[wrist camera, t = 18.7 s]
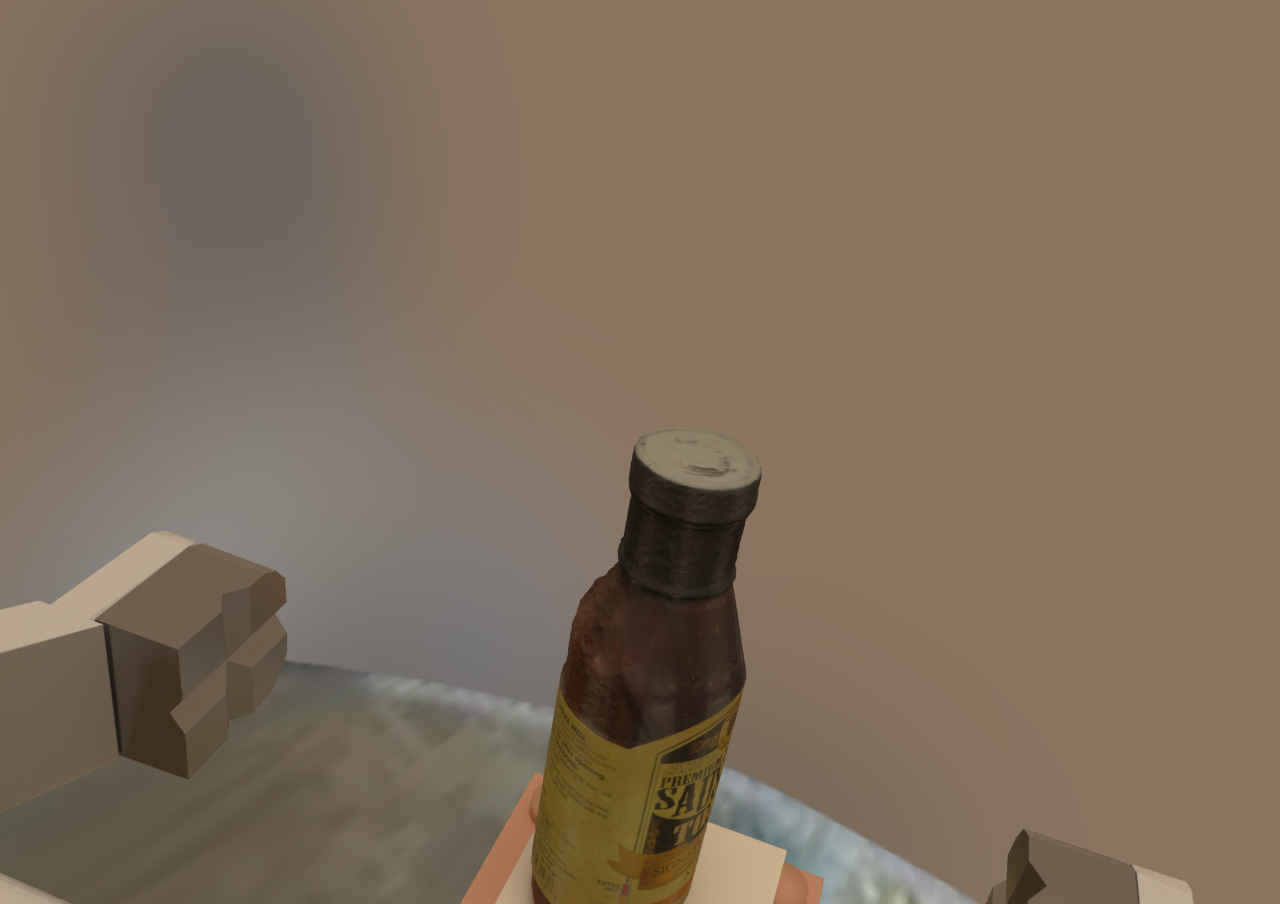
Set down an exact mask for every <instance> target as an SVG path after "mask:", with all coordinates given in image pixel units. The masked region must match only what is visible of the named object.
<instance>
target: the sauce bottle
mask: <svg viewBox="0 0 1280 904" xmlns="http://www.w3.org/2000/svg"><path fill="white" fill-rule="evenodd" d="M760 480H761V466H760V463H759V461H758V459H757V457H756V456H755V455H754V454H753V453H752V452H751V451H750V450H748V449H747V448H746V447H745V446H744V445H742V444H741V443H739V442H738V441H737V440H736V439H733V438H731V437H729V436H727V435H724V434H722V433H718V432H715V431H711V430H707V429H703V428H695V427H664V428H658V429H655V430H653V431H650V432H647V433H645V434H644V435H643V436H642V437H641V438H640V439H639V441H638V442H637V443H636V445H635V446H634V451H633V456H632V461H631V468H630V474H629V488H630V492H631V499H630V504H629V509H628V515H627V521H626V526H625V532H624V537H623V538H622V539H621V543H620V545H619V548H618V560H619V562H617V563H616V564H615V565H614V567H613V568H611V569H610V570H609V571H608V572H607V574H606V575H605V576H603V577H599V578H598V579H596V580H595V582H594V584H593V585H592V586H591V588H590V589H589V590H588V592H587V593H586V594H585V595H584V597H583V598H582V599H581V600H580V604H579V607H578V609H577V614H576V616H575V618H574V621H573V623H572V630H571V634H570V641H569V647H568V657H567V661H566V662H565V664H564V667H563V669H562V672H561V676H560V682H559V688H558V694H557V699H556V705H555V711H554V717H553V724H552V730H551V736H550V742H549V748H548V754H547V760H546V766H545V772H544V777H543V784H542V790H541V796H540V802H539V808H538V814H537V820H536V826H535V833H534V840H533V846H532V856H531V865H532V880H531V887H532V893H533V899H534V904H684V902H685V900H686V898H687V896H688V894H689V891H690V888H691V884H692V880H693V877H694V873H695V869H696V866H697V862H698V858H699V854H700V851H701V847H702V843H703V839H704V835H705V832H706V828H707V824H708V820H709V816H710V813H711V809H712V806H713V802H714V799H715V795H716V791H717V787H718V783H719V780H720V777H721V773H722V770H723V766H724V762H725V758H726V754H727V750H728V745H729V741H730V738H731V734H732V730H733V726H734V723H735V719H736V715H737V712H738V708H739V705H740V701H741V697H742V693H743V688H744V685H745V681H746V667H745V661H744V654H743V648H742V641H741V634H740V627H739V621H738V614H737V608H736V601H735V595H734V589H733V581H734V580H735V578H736V567H735V562H736V560H737V553H738V550H739V544H740V541H741V537H742V534H743V530H744V526H745V521H746V518H747V517H748V516H749V514H750V513H751V512H752V511H753V510H754V508H755V506H756V502H757V497H758V489H759V485H760Z"/></svg>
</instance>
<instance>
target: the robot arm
mask: <svg viewBox="0 0 1280 904" xmlns="http://www.w3.org/2000/svg"><path fill="white" fill-rule="evenodd" d="M285 603H286V587H285V578H284V577H283V576H281V575H280V574H279V573H278V572H277V571H275V570H272V569H269V568H267V567H263V566H261V565H259V564H256V563H253V562H251V561H248V560H245V559H243V558H240V557H237V556H235V555H232V554H229V553H226V552H224V551H221V550H218V549H216V548H213V547H211V546H208V545H205V544H199V543H196V542H194V541H192V540H189V539H186V538H184V537H181V536H178V535H176V534H173V533H171V532H168V531H166V530H165V531H159V532H153V533H150V534H148V535H147V536H146V537H144V538H143V539H141V540H140V541H139V542H137V543H136V544H135V545H133V546H132V547H130V548H129V549H128V550H126V551H125V552H123V553H122V554H121V555H119V556H118V557H116V558H115V559H114V560H112V561H111V562H110V563H108V564H107V565H105V566H104V567H103V568H101V569H100V570H98V571H97V572H96V573H94V574H93V575H91V576H90V577H89V578H87V579H86V580H84V581H83V582H82V583H80V584H79V585H77V586H76V587H75V588H73V589H72V590H70V591H69V592H68V593H66V594H65V595H63V596H62V597H61V598H59V599H58V600H56V601H55V602H54V603H52V604H51V605H49V604H46V603H43V602H41V601H36V602H31V603H27V604H23V605H19V606H15V607H11V608H7V609H2V610H0V813H1V812H3V811H6V810H8V809H10V808H12V807H14V806H17V805H19V804H21V803H23V802H26V801H28V800H30V799H32V798H34V797H37V796H39V795H41V794H43V793H46V792H48V791H50V790H52V789H54V788H57V787H59V786H61V785H63V784H66V783H68V782H70V781H72V780H75V779H77V778H79V777H81V776H83V775H86V774H88V773H90V772H92V771H95V770H97V769H99V768H101V767H103V766H106V765H108V764H110V763H112V762H115V761H117V760H119V755H121V756H124V757H127V758H129V759H132V760H135V761H138V762H140V763H143V764H146V765H149V766H151V767H154V768H157V769H160V770H163V771H165V772H168V773H171V774H174V775H176V776H179V777H182V778H185V779H187V780H189V779H190V778H191V777H192V776H193V775H194V774H195V773H196V772H197V771H198V770H199V769H200V768H201V767H202V766H203V764H204V763H205V762H206V761H207V760H208V759H209V758H210V757H211V756H212V755H213V754H214V753H215V752H216V751H217V750H218V749H219V748H220V747H221V746H222V745H223V744H224V743H225V742H226V741H227V740H228V731H229V721H230V720H232V719H235V718H238V717H241V716H244V715H247V714H250V713H252V712H254V711H255V710H256V709H257V708H258V707H259V706H260V705H261V704H262V703H263V701H264V700H265V699H266V698H267V697H268V696H269V695H270V693H271V691H272V690H273V688H274V686H275V684H276V682H277V680H278V678H279V676H280V674H281V673H282V671H283V666H284V662H285V657H286V652H287V633H286V631H285V629H284V628H283V626H282V625H281V623H280V621H279V620H278V618H277V616H276V615H275V613H276V612H277V611H278V610H279V609H280V608H281V607H282V606H283V605H284V604H285ZM0 904H70V903H68V902H66V901H64V900H61V899H59V898H57V897H54V896H52V895H50V894H47V893H45V892H43V891H41V890H38V889H36V888H34V887H31V886H29V885H27V884H24V883H22V882H20V881H17V880H15V879H13V878H11V877H8V876H6V875H4V874H1V873H0ZM986 904H1194V898H1193V893H1192V891H1191V889H1190V887H1189V886H1188V885H1187V883H1186V882H1184V881H1181V880H1178V879H1175V878H1172V877H1169V876H1166V875H1163V874H1160V873H1157V872H1154V871H1150V870H1148V869H1145V868H1142V867H1139V866H1136V865H1132V864H1131V865H1128V864H1126V863H1125V862H1121V861H1119V860H1116V859H1113V858H1110V857H1107V856H1103V855H1101V854H1098V853H1095V852H1092V851H1089V850H1086V849H1083V848H1080V847H1077V846H1074V845H1071V844H1068V843H1065V842H1062V841H1059V840H1056V839H1053V838H1050V837H1047V836H1044V835H1041V834H1039V833H1036V832H1032V831H1029V830H1027V829H1023V830H1022V831H1021V832H1020V834H1019V835H1018V836H1017V837H1016V839H1015V841H1014V843H1013V845H1012V848H1011V850H1010V852H1009V854H1008V861H1007V880H1006V881H1004V882H1002V883H999V884H997V885H994V886H993V888H992V891H991V893H990V895H989V897H988V900H987V902H986Z"/></svg>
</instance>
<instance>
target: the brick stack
mask: <svg viewBox="0 0 1280 904" xmlns="http://www.w3.org/2000/svg"><path fill="white" fill-rule="evenodd" d="M543 777H544V775H541V774H538V773H536V772H535V774H534V776H533V777H532V779H531V781H530V783H529V784H528V786H527V788H526V790H525V791H524V793H523V795H522V797H521V798H520V800H519V802H518V804H517V805H516V807H515V809H514V811H513V812H512V814H511V816H510V818H509V819H508V821H507V823H506V825H505V826H504V828H503V830H502V832H501V833H500V835H499V837H498V839H497V840H496V842H495V844H494V846H493V847H492V849H491V851H490V853H489V854H488V856H487V858H486V860H485V862H484V863H483V865H482V867H481V869H480V870H479V872H478V874H477V876H476V877H475V879H474V881H473V883H472V884H471V886H470V888H469V890H468V891H467V893H466V895H465V897H464V898H463V900H462V902H461V904H534V899H533V893H532V887H531V880H532V865H531V856H532V846H533V840H534V833H535V826H536V820H537V814H538V808H539V802H540V796H541V790H542V784H543ZM786 852H787V851H786V850H783V849H781V848H778V847H775V846H772V845H770V844H767V843H764V842H761V841H759V840H756V839H753V838H750V837H748V836H745V835H742V834H739V833H737V832H734V831H731V830H728V829H726V828H723V827H720V826H717V825H715V824H712V823H709V822H708V824H707V828H706V832H705V835H704V839H703V843H702V847H701V851H700V854H699V858H698V862H697V866H696V869H695V873H694V877H693V880H692V884H691V888H690V891H689V894H688V896H687V898H686V900H685V902H684V904H819V902H820V897H821V892H822V888H823V883H824V878H822V877H819V876H816V875H813V874H811V873H808V872H805V871H803V870H800V869H797V868H796V867H795V866H793V865H791V864H789V863H787V862H784V860H785V856H786Z"/></svg>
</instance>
